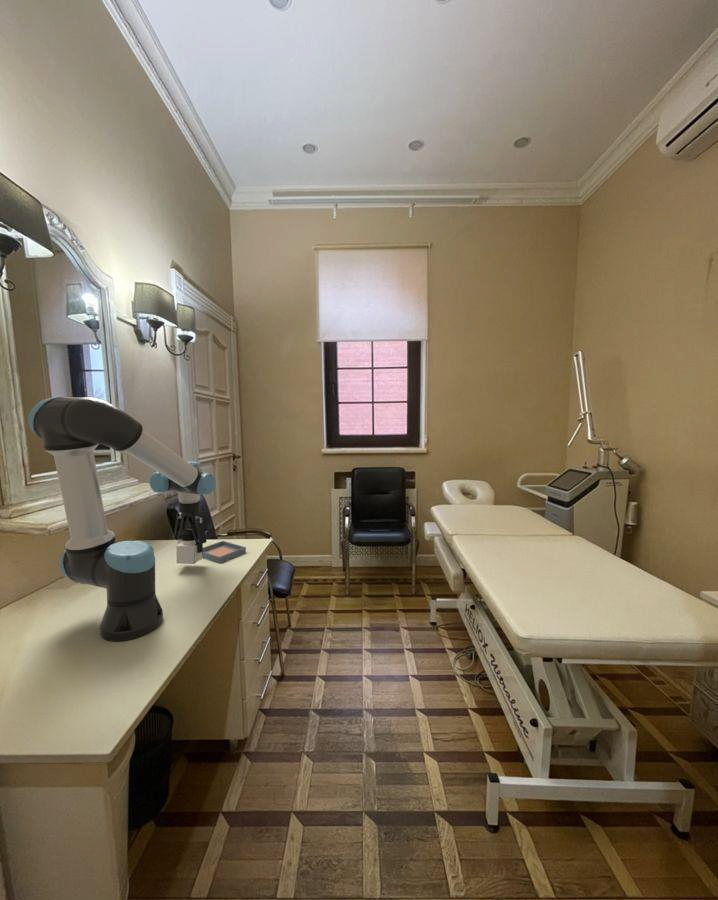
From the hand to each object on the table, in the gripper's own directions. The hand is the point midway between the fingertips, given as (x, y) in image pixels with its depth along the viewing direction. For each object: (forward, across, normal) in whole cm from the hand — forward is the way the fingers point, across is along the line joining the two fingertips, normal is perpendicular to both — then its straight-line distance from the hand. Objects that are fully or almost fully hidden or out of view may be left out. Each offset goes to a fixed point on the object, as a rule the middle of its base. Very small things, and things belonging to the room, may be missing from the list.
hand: (189, 557), depth 141 cm
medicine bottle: (+1, 0, 0) cm, 1 cm away
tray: (+4, +2, -16) cm, 17 cm away
